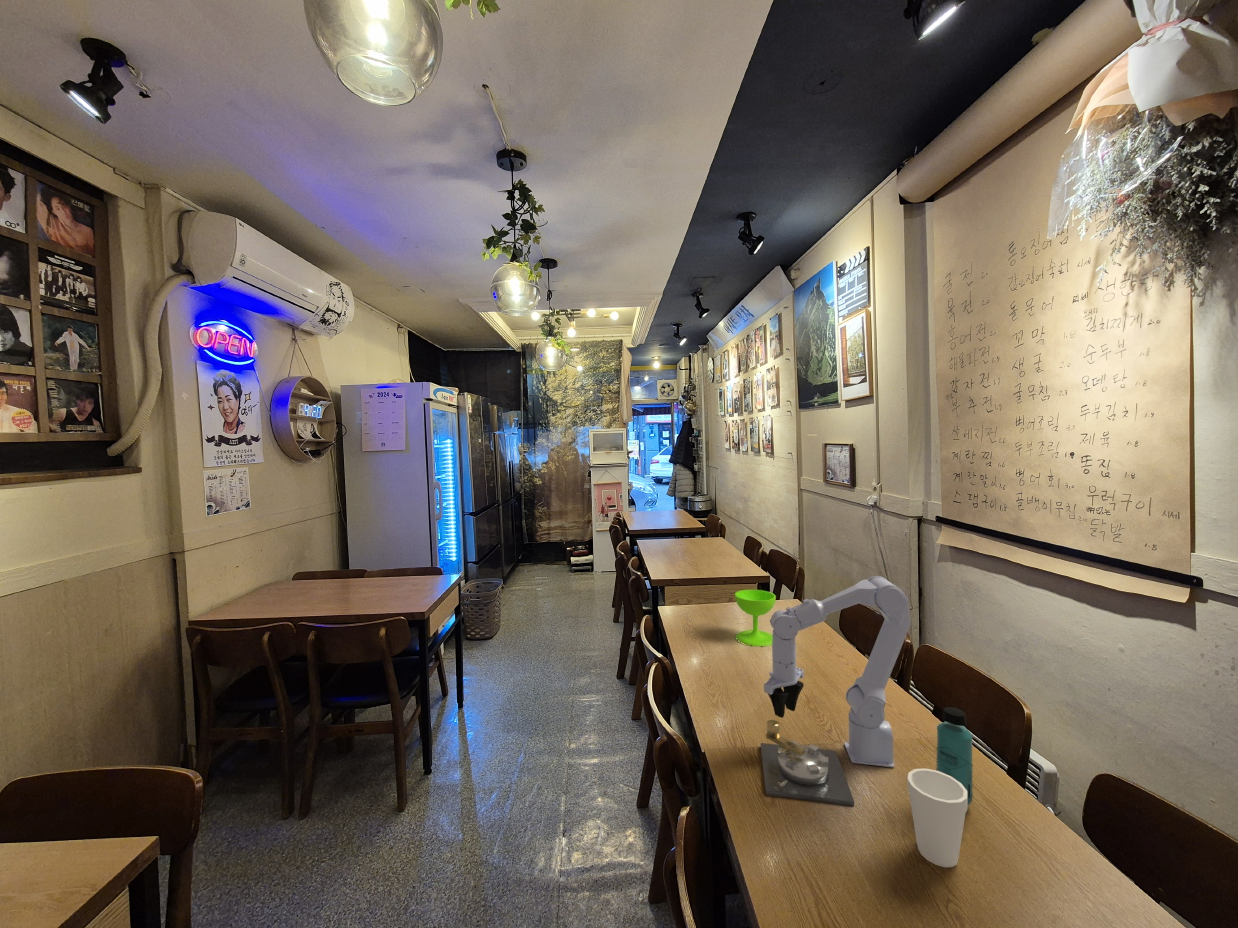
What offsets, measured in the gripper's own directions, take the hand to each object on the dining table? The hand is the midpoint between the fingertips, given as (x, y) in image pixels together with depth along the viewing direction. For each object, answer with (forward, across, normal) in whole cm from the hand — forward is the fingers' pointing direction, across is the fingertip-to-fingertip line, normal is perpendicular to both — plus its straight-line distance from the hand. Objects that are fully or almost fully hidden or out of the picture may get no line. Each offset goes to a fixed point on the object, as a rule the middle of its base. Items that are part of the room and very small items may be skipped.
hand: (784, 712), depth 123 cm
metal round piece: (+8, +5, +6) cm, 11 cm away
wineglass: (+10, -55, -50) cm, 75 cm away
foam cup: (+10, +6, +36) cm, 38 cm away
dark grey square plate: (+9, +5, +8) cm, 13 cm away
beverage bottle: (+10, -11, +34) cm, 37 cm away
